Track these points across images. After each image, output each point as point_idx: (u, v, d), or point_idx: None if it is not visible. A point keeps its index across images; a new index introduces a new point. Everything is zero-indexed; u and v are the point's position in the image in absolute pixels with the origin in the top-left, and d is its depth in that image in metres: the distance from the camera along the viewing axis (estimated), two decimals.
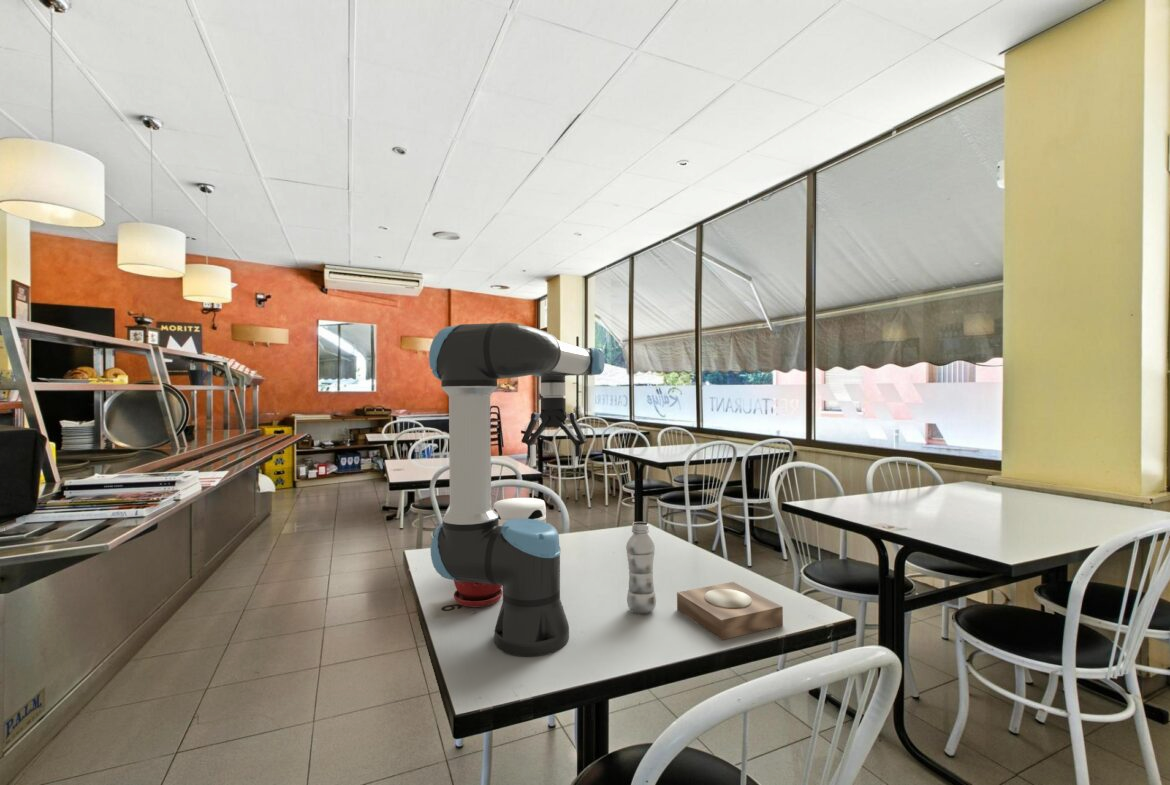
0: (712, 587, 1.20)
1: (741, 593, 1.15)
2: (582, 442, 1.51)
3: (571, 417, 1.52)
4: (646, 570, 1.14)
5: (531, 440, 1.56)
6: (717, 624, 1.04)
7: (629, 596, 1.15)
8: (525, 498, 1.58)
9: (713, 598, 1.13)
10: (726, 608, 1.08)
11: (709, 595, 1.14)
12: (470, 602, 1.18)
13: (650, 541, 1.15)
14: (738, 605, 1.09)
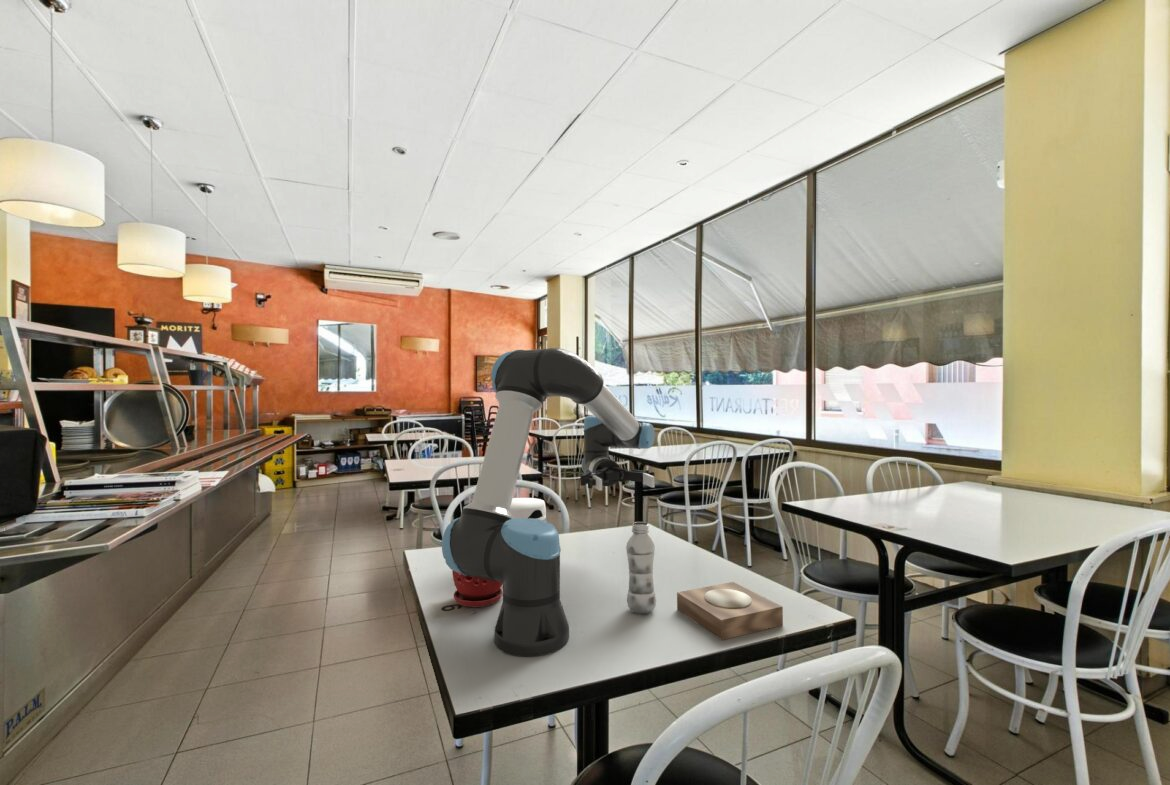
0: (712, 587, 1.20)
1: (741, 593, 1.15)
2: (652, 472, 1.36)
3: (631, 469, 1.43)
4: (646, 570, 1.14)
5: (592, 475, 1.33)
6: (717, 624, 1.04)
7: (629, 596, 1.15)
8: (525, 498, 1.58)
9: (713, 598, 1.13)
10: (726, 608, 1.08)
11: (709, 595, 1.14)
12: (470, 602, 1.18)
13: (650, 541, 1.15)
14: (738, 605, 1.09)
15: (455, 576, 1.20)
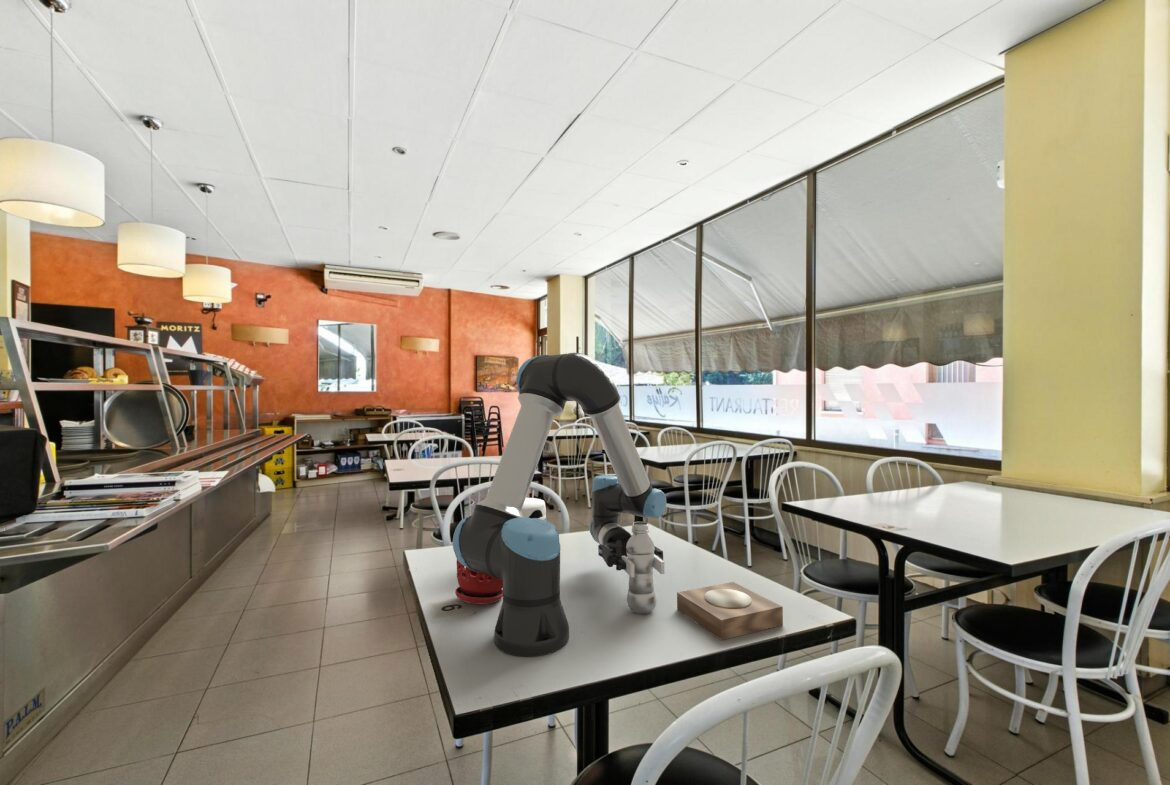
0: (712, 587, 1.20)
1: (741, 593, 1.15)
2: (660, 551, 1.21)
3: None
4: (646, 570, 1.14)
5: (619, 554, 1.19)
6: (717, 624, 1.04)
7: (629, 596, 1.15)
8: None
9: (713, 598, 1.13)
10: (726, 608, 1.08)
11: (709, 595, 1.14)
12: (473, 598, 1.18)
13: (650, 541, 1.15)
14: (738, 605, 1.09)
15: (460, 571, 1.21)
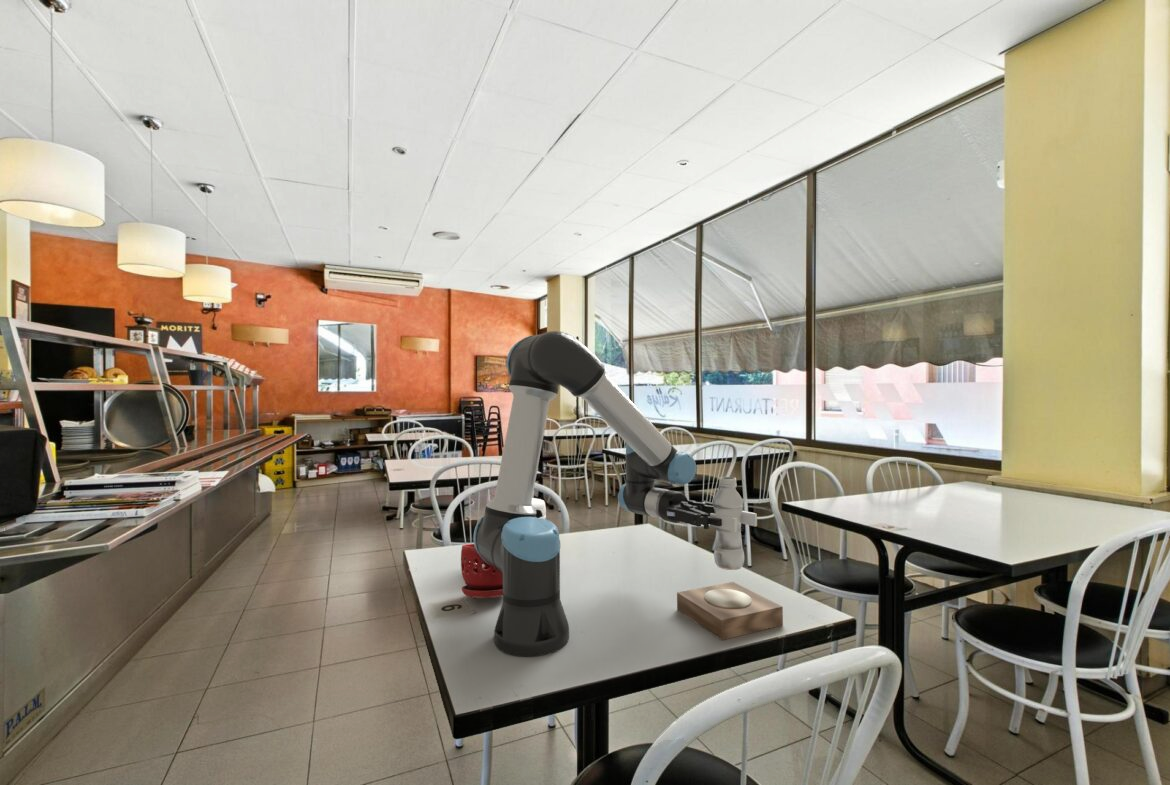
0: (712, 587, 1.20)
1: (741, 593, 1.15)
2: None
3: (705, 501, 1.25)
4: (739, 524, 1.11)
5: (703, 512, 1.13)
6: (717, 624, 1.04)
7: (722, 553, 1.10)
8: None
9: (713, 598, 1.13)
10: (726, 608, 1.08)
11: (709, 595, 1.14)
12: (487, 591, 1.19)
13: (739, 495, 1.13)
14: (738, 605, 1.09)
15: (470, 567, 1.21)
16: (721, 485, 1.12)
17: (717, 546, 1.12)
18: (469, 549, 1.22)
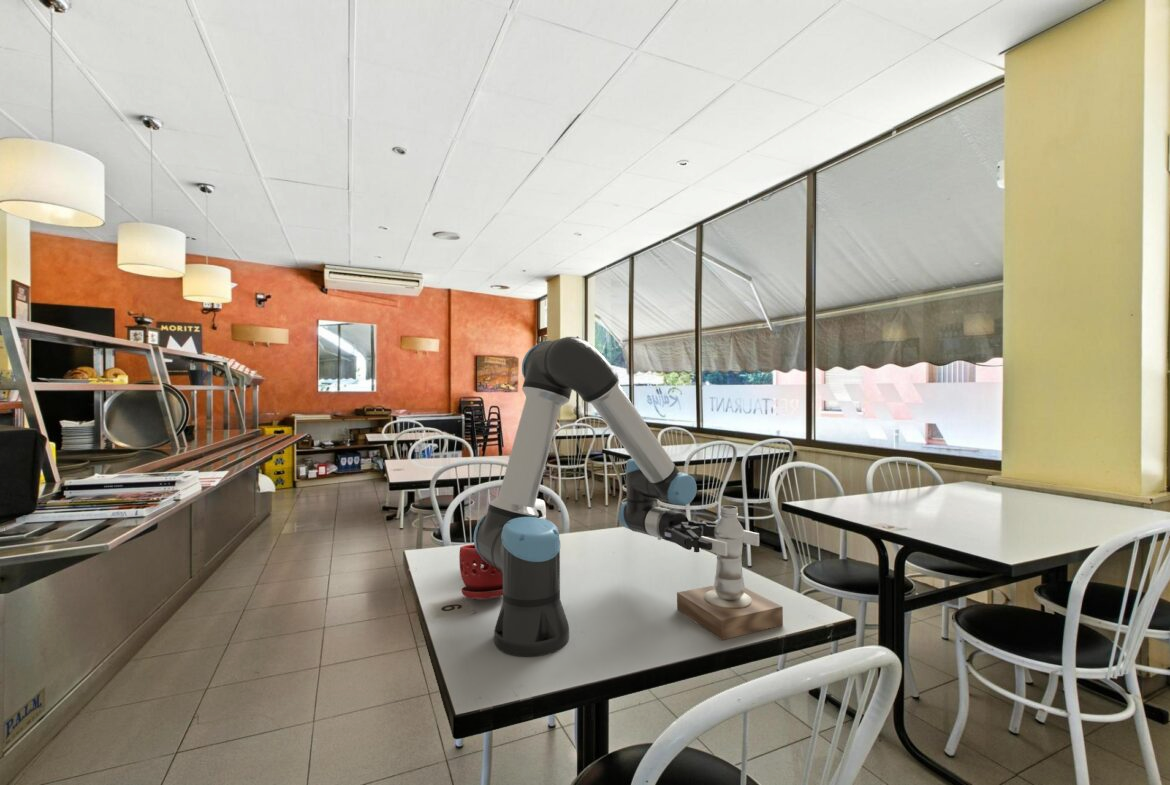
0: (712, 587, 1.20)
1: None
2: None
3: (704, 521, 1.26)
4: (740, 554, 1.11)
5: (695, 535, 1.13)
6: (717, 624, 1.04)
7: (722, 583, 1.10)
8: None
9: (713, 598, 1.13)
10: (726, 608, 1.08)
11: (709, 595, 1.14)
12: (486, 592, 1.19)
13: (740, 524, 1.12)
14: (738, 605, 1.09)
15: (469, 569, 1.20)
16: (722, 514, 1.12)
17: (717, 575, 1.12)
18: (467, 550, 1.21)
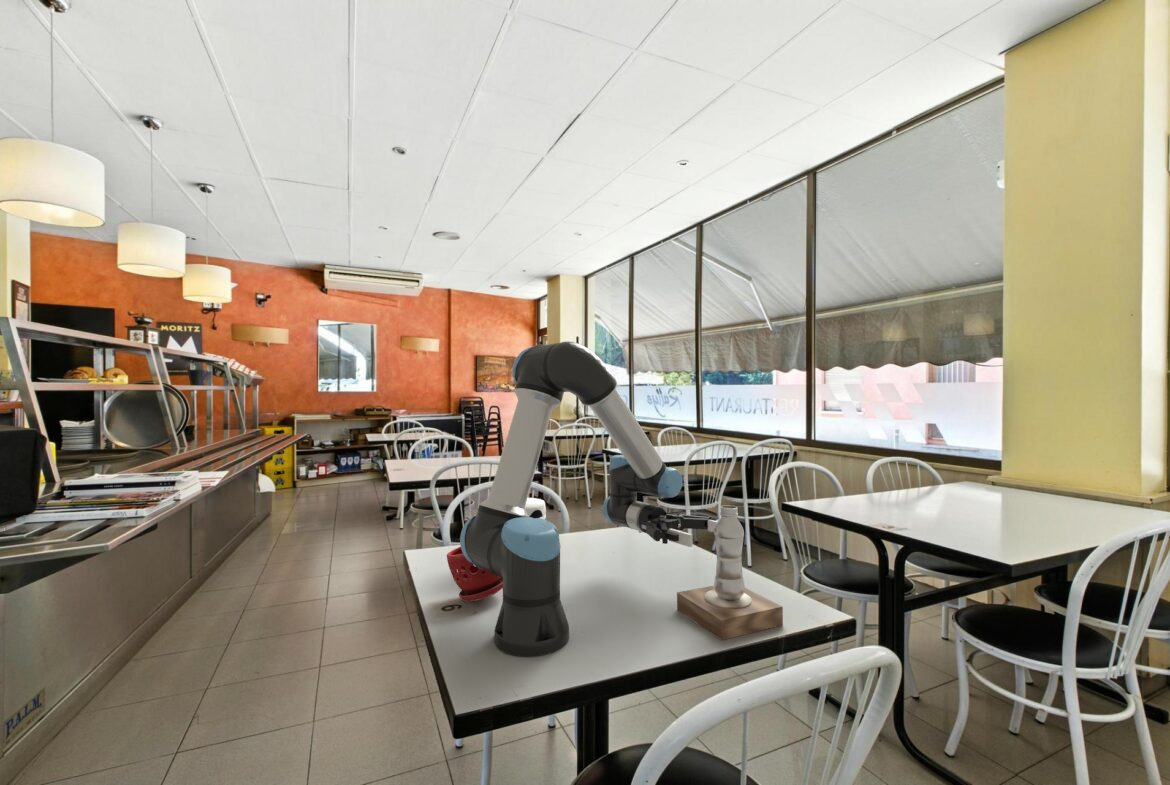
0: (712, 587, 1.20)
1: None
2: (712, 517, 1.29)
3: (681, 514, 1.33)
4: (740, 553, 1.11)
5: (665, 528, 1.19)
6: (717, 624, 1.04)
7: (722, 583, 1.10)
8: None
9: (713, 598, 1.13)
10: (726, 608, 1.08)
11: (709, 595, 1.14)
12: (482, 593, 1.19)
13: (740, 524, 1.12)
14: (738, 605, 1.09)
15: (459, 575, 1.19)
16: (722, 514, 1.12)
17: (717, 575, 1.12)
18: (453, 558, 1.20)
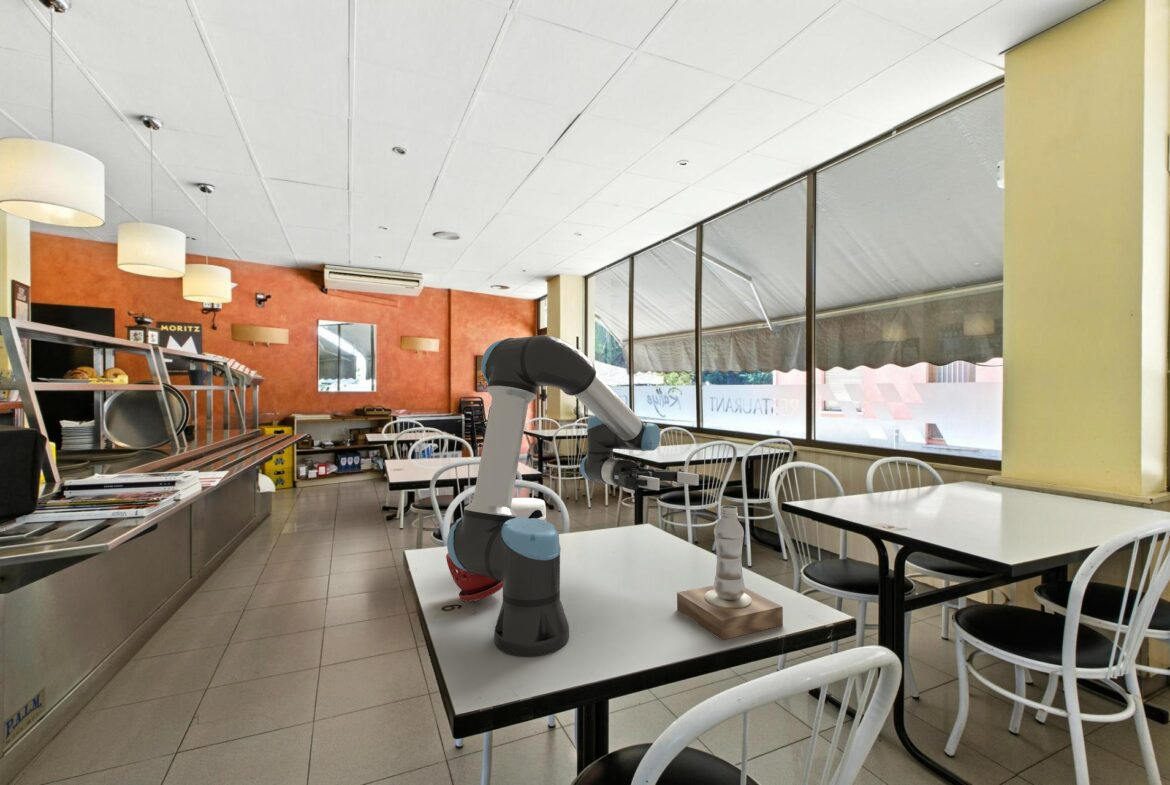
0: (712, 587, 1.20)
1: None
2: (682, 471, 1.35)
3: None
4: (740, 554, 1.11)
5: (635, 475, 1.26)
6: (717, 624, 1.04)
7: (722, 583, 1.10)
8: (525, 498, 1.58)
9: (713, 598, 1.13)
10: (726, 608, 1.08)
11: (709, 595, 1.14)
12: (482, 593, 1.19)
13: (740, 524, 1.12)
14: (738, 605, 1.09)
15: (458, 575, 1.19)
16: (722, 514, 1.12)
17: (717, 575, 1.12)
18: None
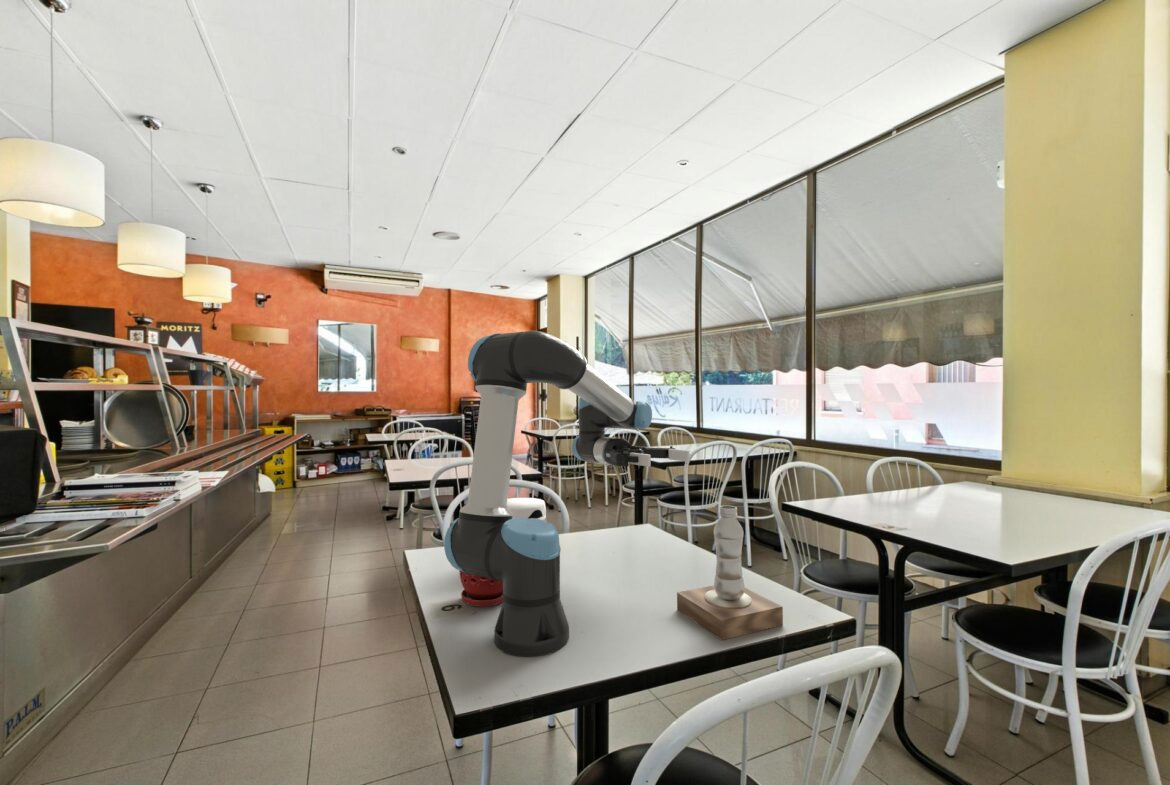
0: (712, 587, 1.20)
1: None
2: (673, 448, 1.36)
3: (645, 447, 1.40)
4: (739, 554, 1.11)
5: (626, 452, 1.26)
6: (717, 624, 1.04)
7: (722, 583, 1.10)
8: (525, 498, 1.58)
9: (713, 598, 1.13)
10: (726, 608, 1.08)
11: (709, 595, 1.14)
12: (485, 601, 1.19)
13: None
14: (738, 605, 1.09)
15: (468, 577, 1.19)
16: (722, 515, 1.12)
17: (717, 576, 1.12)
18: None
